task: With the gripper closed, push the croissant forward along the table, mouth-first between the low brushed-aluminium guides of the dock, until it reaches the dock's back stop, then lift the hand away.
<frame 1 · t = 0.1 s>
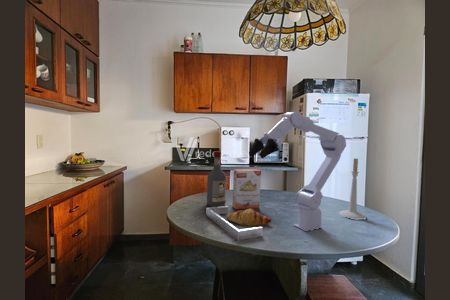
hand: (255, 155, 102), 32 cm above the table, tool tilted 50°, fingers open, 7 cm apart
cracker box: (245, 208, 144), on the table
liquor: (216, 204, 149), on the table
croissant: (247, 223, 121), on the table
candlestick: (352, 216, 134), on the table
dock: (230, 224, 117), on the table
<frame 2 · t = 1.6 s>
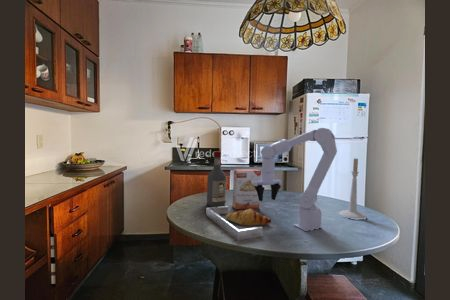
hand: (267, 200, 124), 9 cm above the table, tool pointing down, fingers open, 7 cm apart
nothing on the table moved.
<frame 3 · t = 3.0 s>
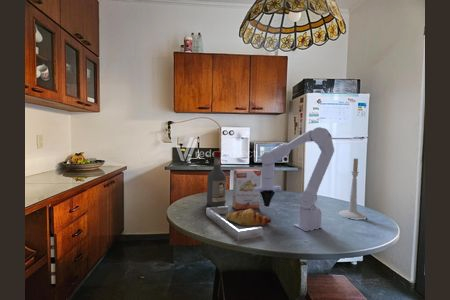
hand: (266, 206, 125), 7 cm above the table, tool pointing down, fingers closed
nothing on the table moved.
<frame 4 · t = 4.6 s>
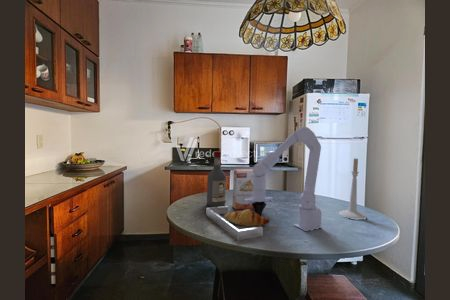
hand: (258, 217, 123), 1 cm above the table, tool pointing down, fingers closed
croissant: (246, 223, 120), on the table, touching gripper
everything else where it was.
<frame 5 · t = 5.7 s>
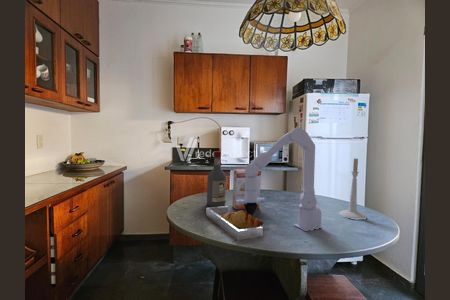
hand: (250, 219, 121), 1 cm above the table, tool pointing down, fingers closed
croissant: (239, 225, 117), on the table, touching dock, gripper
everything else where it was.
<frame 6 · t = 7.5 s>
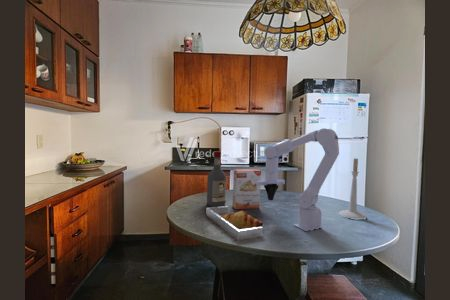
hand: (270, 199, 125), 9 cm above the table, tool pointing down, fingers closed
croissant: (239, 226, 117), on the table
everything else where it was.
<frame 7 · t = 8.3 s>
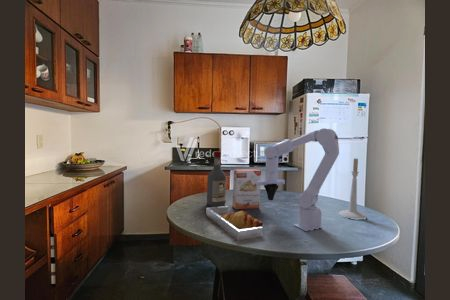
hand: (270, 199, 125), 9 cm above the table, tool pointing down, fingers closed
nothing on the table moved.
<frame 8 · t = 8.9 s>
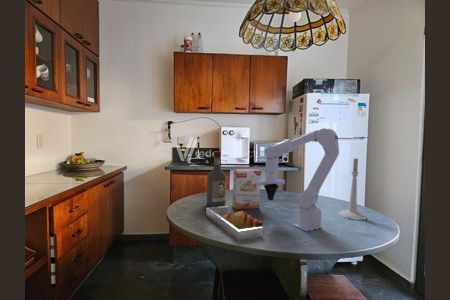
hand: (270, 199, 125), 9 cm above the table, tool pointing down, fingers closed
nothing on the table moved.
at the end: croissant inside the target area (2.0 cm from its centre), on the table; croissant tilted 0° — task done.
